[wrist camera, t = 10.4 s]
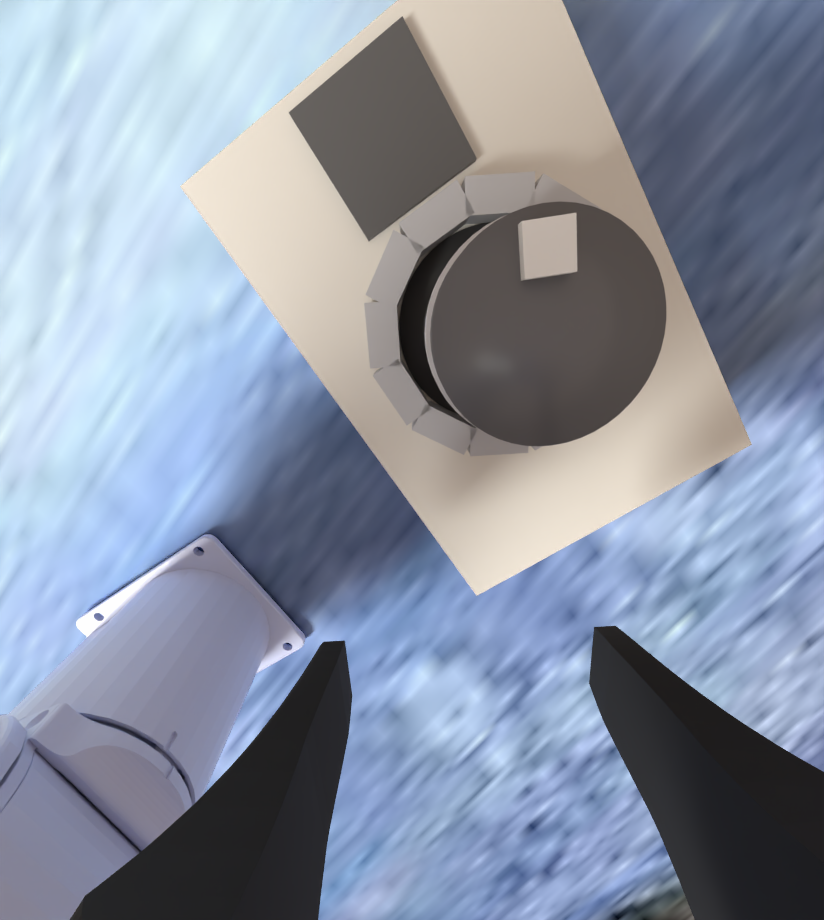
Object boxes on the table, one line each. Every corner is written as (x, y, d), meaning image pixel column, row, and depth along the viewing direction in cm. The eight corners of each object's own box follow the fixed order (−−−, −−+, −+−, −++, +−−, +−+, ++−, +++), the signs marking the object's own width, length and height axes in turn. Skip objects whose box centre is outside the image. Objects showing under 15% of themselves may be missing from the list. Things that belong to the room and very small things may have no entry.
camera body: (464, 547, 22) (481, 614, 17) (231, 217, 17) (158, 173, 12) (685, 420, 20) (778, 453, 15) (490, 5, 15) (530, -153, 10)
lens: (568, 392, 15) (673, 438, 9) (429, 411, 15) (442, 469, 9) (564, 237, 14) (688, 170, 8) (410, 261, 14) (410, 213, 8)
